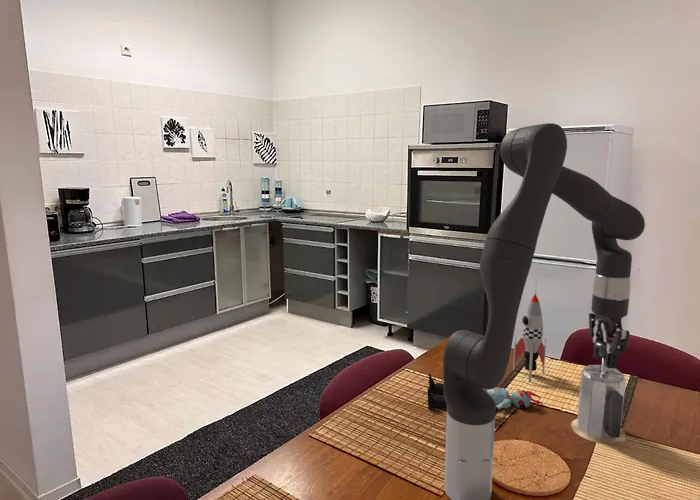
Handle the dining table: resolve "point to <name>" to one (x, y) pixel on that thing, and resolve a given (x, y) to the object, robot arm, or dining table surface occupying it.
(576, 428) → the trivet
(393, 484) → the dining table surface
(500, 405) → the toy
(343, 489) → the dining table surface
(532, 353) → the toy
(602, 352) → the plunger
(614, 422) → the french press
